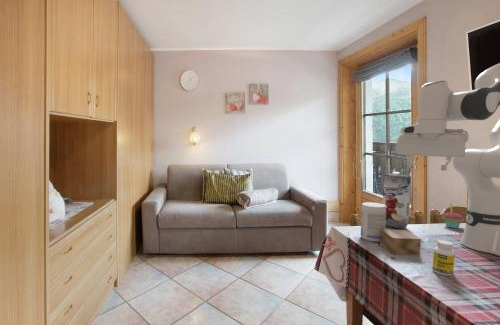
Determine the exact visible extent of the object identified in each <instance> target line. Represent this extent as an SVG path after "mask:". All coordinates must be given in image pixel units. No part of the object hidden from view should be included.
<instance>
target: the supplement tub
mask: <svg viewBox="0 0 500 325" xmlns="http://www.w3.org/2000/svg"><path fill="white" fill-rule="evenodd" d="M360 208H361V210H360V214H361V215H360V237H361V239H363V240H365V241H369V242H373V243H378V242H381V229H386V227H385V226H386V206H385V205H384V204H383V203H378V202H372V201H371V202H370V201H368V202H367V201H366V202H362V203H361V207H360Z"/></svg>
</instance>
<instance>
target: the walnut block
mask: <svg viewBox="0 0 500 325" xmlns="http://www.w3.org/2000/svg"><path fill="white" fill-rule="evenodd" d="M421 242H422V239H421V237H419V236H417V235H415V234H414V233H413V232H411V231H409V230H408V229H403V230H396V229H390V228H389V229H386V228H385V229H381V242H380V245H381V246H382V247H383V248H385V250H386V251H388V252H389V254H392V255H406V256H407V255H408V256H409V255H412V256H420V255H421V245H422V244H421Z"/></svg>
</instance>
